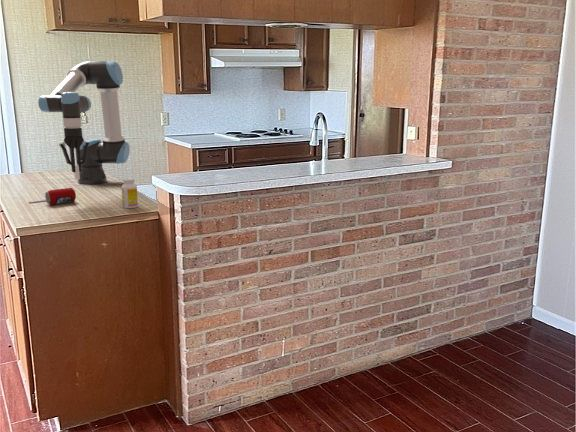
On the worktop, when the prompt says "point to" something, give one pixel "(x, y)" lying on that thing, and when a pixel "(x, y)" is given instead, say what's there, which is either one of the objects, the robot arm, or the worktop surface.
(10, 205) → the worktop surface
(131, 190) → the supplement bottle
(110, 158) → the robot arm
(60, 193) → the beverage can
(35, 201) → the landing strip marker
